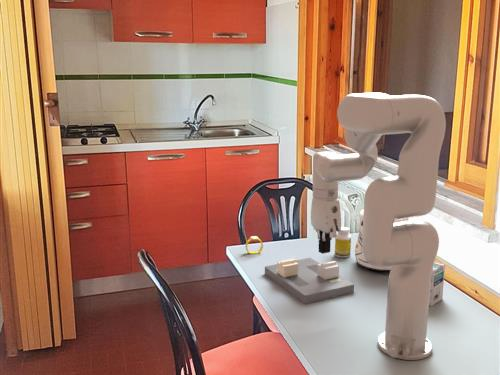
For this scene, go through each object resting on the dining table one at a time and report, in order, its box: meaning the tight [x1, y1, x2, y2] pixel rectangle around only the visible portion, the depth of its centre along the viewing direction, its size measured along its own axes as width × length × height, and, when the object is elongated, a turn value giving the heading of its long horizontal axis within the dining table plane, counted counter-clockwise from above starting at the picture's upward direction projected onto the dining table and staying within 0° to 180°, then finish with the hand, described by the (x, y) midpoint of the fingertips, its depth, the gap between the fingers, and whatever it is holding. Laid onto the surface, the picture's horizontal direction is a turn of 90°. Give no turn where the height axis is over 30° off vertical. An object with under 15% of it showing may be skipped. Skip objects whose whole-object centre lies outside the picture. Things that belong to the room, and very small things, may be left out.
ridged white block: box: [318, 260, 340, 280], centre depth 170 cm, size 4×5×4 cm
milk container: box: [354, 208, 409, 272], centre depth 183 cm, size 17×17×18 cm
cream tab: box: [277, 258, 298, 277], centre depth 171 cm, size 4×5×4 cm
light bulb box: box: [429, 261, 446, 307], centre depth 160 cm, size 11×7×11 cm, turn 47°
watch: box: [245, 235, 264, 255], centre depth 196 cm, size 6×3×6 cm, turn 102°
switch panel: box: [264, 257, 355, 305], centre depth 171 cm, size 24×17×2 cm
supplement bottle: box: [334, 226, 352, 259], centre depth 193 cm, size 5×5×10 cm
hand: (324, 252), depth 170 cm, fingers closed
